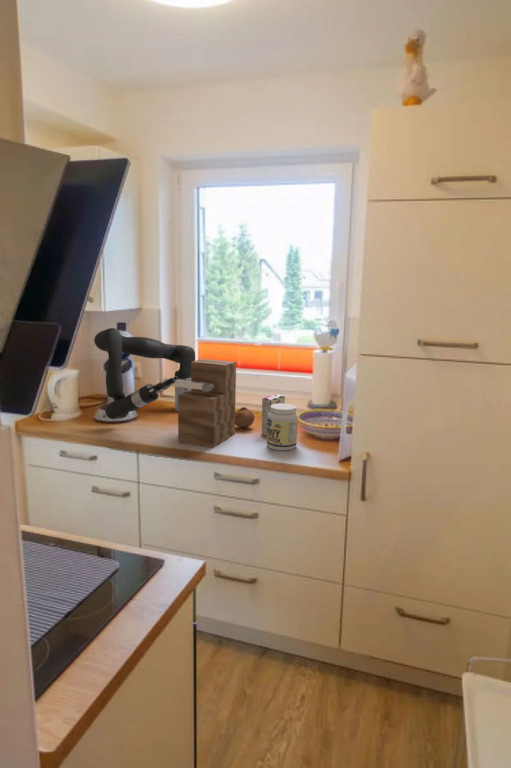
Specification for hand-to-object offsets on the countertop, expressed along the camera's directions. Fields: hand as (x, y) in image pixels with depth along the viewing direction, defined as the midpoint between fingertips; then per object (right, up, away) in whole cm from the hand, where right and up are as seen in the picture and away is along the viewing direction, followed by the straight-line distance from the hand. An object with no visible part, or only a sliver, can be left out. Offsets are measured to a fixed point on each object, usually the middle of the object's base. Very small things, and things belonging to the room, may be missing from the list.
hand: (175, 379), depth 208 cm
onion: (+28, -22, +22) cm, 42 cm away
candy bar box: (+41, -24, +17) cm, 50 cm away
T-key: (+5, -3, -2) cm, 7 cm away
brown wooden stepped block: (+13, -25, +6) cm, 29 cm away
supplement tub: (+44, -28, -2) cm, 52 cm away
